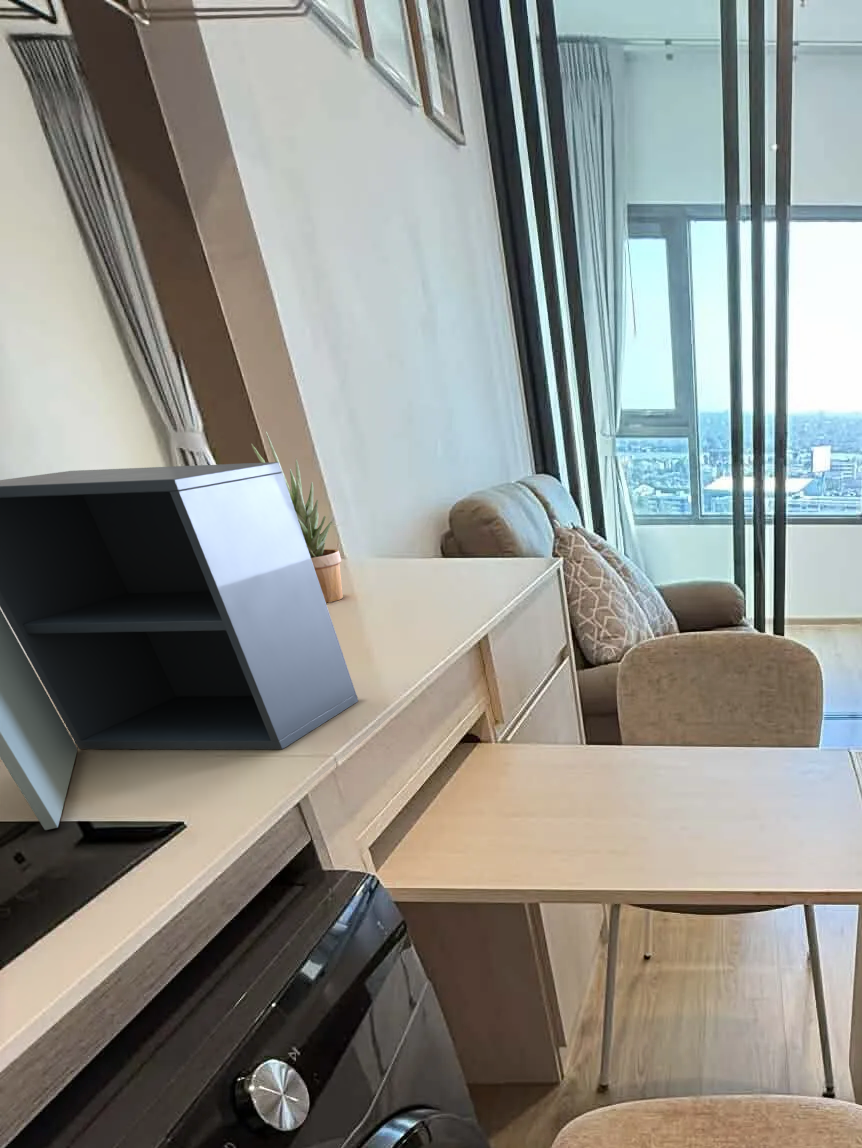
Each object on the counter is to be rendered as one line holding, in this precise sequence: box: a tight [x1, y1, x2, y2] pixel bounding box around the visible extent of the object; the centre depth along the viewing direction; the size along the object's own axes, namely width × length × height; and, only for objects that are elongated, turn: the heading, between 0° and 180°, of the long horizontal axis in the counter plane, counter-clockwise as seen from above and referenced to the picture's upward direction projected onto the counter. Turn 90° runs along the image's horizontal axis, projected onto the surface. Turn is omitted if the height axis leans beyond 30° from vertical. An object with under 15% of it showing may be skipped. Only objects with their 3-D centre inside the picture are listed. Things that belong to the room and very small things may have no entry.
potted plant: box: [251, 431, 344, 604], centre depth 142 cm, size 10×10×25 cm
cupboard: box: [0, 461, 359, 750], centre depth 88 cm, size 16×24×24 cm
